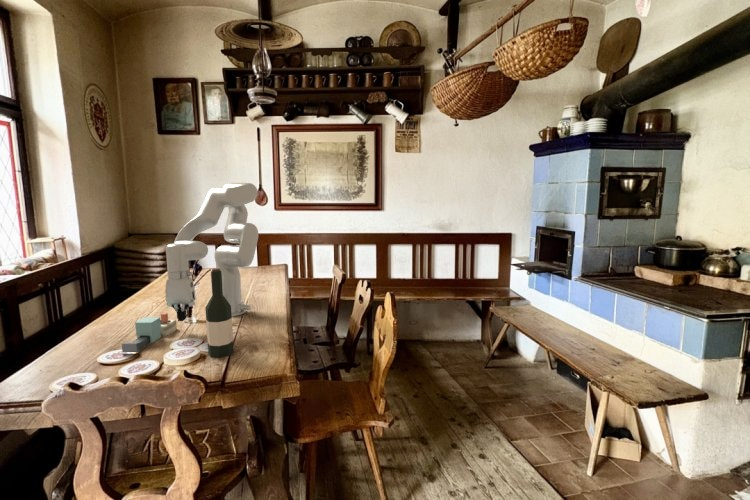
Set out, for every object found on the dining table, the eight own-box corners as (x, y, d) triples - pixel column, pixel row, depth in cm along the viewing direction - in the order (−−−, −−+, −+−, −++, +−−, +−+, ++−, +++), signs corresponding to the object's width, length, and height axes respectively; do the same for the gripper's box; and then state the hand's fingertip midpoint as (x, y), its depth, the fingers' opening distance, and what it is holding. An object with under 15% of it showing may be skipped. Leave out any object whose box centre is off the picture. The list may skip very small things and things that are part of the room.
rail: (162, 336, 157) (161, 326, 156) (137, 354, 140) (136, 343, 139) (149, 336, 157) (148, 326, 156) (122, 354, 140) (121, 343, 139)
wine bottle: (218, 359, 136) (213, 272, 131) (203, 354, 140) (197, 269, 136) (238, 351, 143) (234, 267, 138) (223, 346, 147) (218, 265, 143)
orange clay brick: (168, 321, 162) (167, 313, 161) (166, 322, 160) (165, 314, 160) (163, 321, 162) (162, 313, 161) (161, 322, 160) (160, 314, 160)
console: (176, 329, 166) (175, 318, 165) (167, 336, 158) (166, 324, 157) (152, 329, 165) (151, 318, 165) (141, 336, 158) (140, 324, 157)
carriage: (161, 336, 156) (160, 317, 154) (153, 342, 150) (151, 322, 148) (145, 336, 155) (144, 317, 154) (137, 342, 150) (135, 322, 148)
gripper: (201, 273, 162) (204, 317, 165) (164, 273, 162) (167, 317, 164) (193, 277, 154) (196, 323, 157) (154, 277, 154) (158, 323, 157)
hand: (182, 320), depth 161 cm, fingers closed
